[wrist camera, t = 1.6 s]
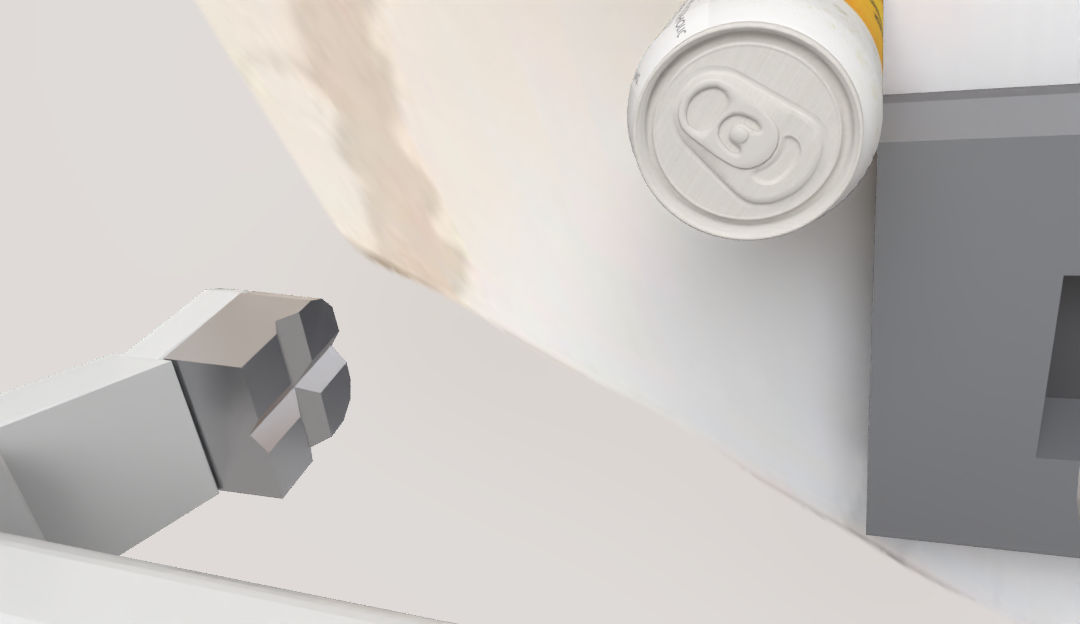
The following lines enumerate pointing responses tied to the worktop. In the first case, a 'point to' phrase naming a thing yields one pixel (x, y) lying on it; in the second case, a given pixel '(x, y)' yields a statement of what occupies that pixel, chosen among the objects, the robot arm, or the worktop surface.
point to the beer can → (759, 111)
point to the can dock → (977, 320)
